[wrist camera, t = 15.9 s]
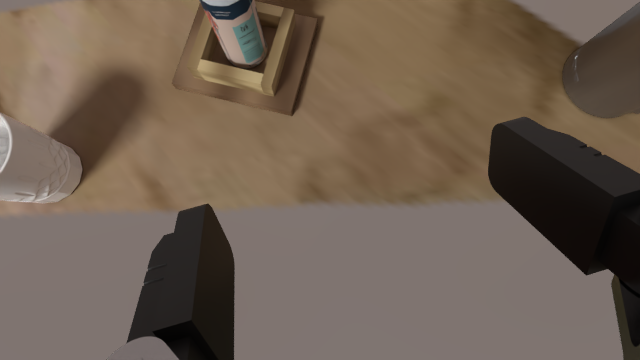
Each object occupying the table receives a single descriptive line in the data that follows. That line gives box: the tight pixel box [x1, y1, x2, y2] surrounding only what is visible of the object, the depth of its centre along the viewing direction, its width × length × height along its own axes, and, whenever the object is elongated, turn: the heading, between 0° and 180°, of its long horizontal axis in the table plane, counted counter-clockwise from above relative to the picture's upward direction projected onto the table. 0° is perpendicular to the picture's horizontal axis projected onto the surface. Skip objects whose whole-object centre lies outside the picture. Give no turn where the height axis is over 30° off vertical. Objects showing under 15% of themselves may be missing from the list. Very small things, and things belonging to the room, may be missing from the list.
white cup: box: [0, 112, 83, 203], centre depth 34 cm, size 8×8×10 cm
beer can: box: [199, 0, 267, 69], centre depth 35 cm, size 5×5×12 cm
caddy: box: [172, 1, 318, 116], centre depth 40 cm, size 14×12×4 cm
